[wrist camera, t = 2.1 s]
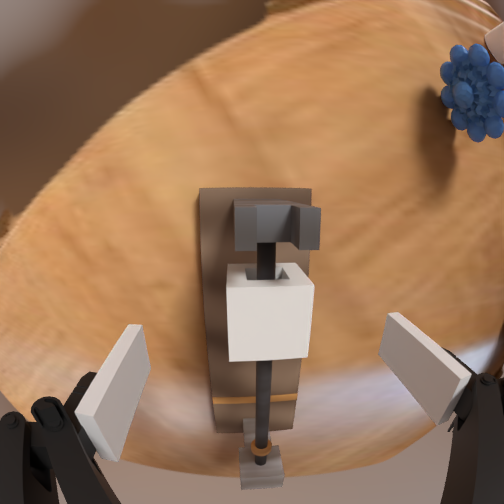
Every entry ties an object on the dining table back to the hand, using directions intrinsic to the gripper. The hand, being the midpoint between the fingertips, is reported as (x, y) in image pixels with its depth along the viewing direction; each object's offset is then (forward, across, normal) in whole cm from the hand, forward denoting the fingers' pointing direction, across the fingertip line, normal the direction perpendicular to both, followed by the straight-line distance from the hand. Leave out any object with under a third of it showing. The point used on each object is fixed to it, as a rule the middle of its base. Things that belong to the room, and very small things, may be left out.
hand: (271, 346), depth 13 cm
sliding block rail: (+14, 0, +7) cm, 16 cm away
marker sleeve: (+8, 0, 0) cm, 8 cm away
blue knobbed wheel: (+14, -24, -20) cm, 34 cm away
